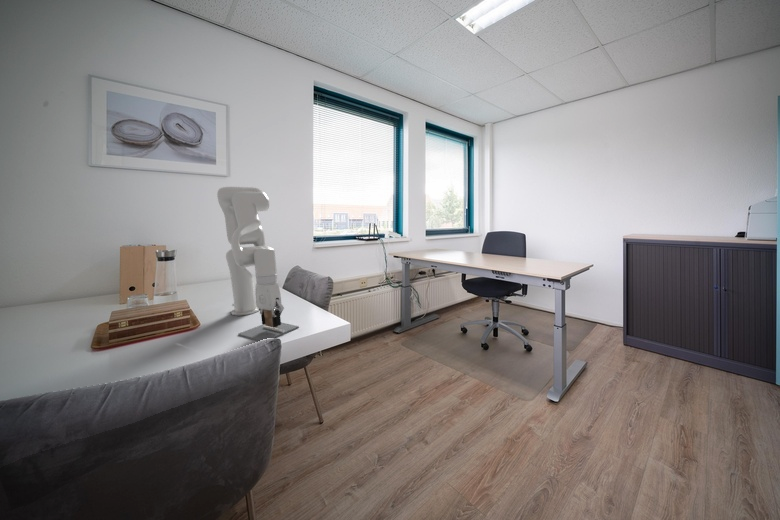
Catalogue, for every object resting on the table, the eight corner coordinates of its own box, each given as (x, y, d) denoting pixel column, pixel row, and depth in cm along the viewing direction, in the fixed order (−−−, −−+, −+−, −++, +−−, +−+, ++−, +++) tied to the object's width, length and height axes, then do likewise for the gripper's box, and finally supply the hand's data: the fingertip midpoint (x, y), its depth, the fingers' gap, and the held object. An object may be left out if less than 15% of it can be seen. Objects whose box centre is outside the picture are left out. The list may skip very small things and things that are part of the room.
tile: (265, 325, 117) (263, 308, 116) (268, 324, 118) (266, 307, 117) (275, 327, 114) (273, 310, 112) (278, 326, 115) (276, 309, 114)
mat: (238, 335, 114) (237, 331, 114) (273, 321, 128) (272, 318, 128) (264, 342, 106) (263, 338, 106) (298, 327, 120) (298, 323, 119)
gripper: (244, 280, 114) (249, 324, 117) (273, 283, 105) (278, 331, 108) (261, 276, 121) (266, 318, 123) (290, 279, 112) (294, 324, 114)
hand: (271, 324), depth 116 cm, fingers closed on tile, 5 cm apart
